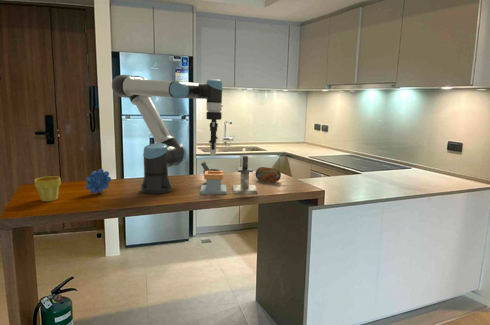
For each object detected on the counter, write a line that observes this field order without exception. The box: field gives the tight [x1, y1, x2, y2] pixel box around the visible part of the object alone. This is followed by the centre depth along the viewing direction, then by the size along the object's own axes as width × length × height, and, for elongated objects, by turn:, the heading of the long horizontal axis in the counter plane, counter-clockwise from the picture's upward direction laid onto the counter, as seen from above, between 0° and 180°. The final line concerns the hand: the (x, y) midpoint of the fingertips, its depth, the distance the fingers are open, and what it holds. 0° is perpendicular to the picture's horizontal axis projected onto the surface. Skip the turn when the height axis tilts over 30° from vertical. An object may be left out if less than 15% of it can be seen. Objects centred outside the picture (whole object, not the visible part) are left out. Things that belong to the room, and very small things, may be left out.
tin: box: [255, 166, 282, 183], centre depth 206 cm, size 15×3×8 cm, turn 65°
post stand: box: [232, 155, 258, 195], centre depth 184 cm, size 12×12×18 cm
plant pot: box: [34, 175, 62, 202], centre depth 161 cm, size 10×10×10 cm
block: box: [199, 179, 227, 195], centre depth 183 cm, size 13×13×7 cm
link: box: [203, 170, 224, 181], centre depth 182 cm, size 9×9×2 cm
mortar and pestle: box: [200, 161, 222, 174], centre depth 200 cm, size 11×9×12 cm
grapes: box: [85, 168, 112, 194], centre depth 174 cm, size 12×7×12 cm, turn 120°
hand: (213, 153), depth 180 cm, fingers open, 13 cm apart
